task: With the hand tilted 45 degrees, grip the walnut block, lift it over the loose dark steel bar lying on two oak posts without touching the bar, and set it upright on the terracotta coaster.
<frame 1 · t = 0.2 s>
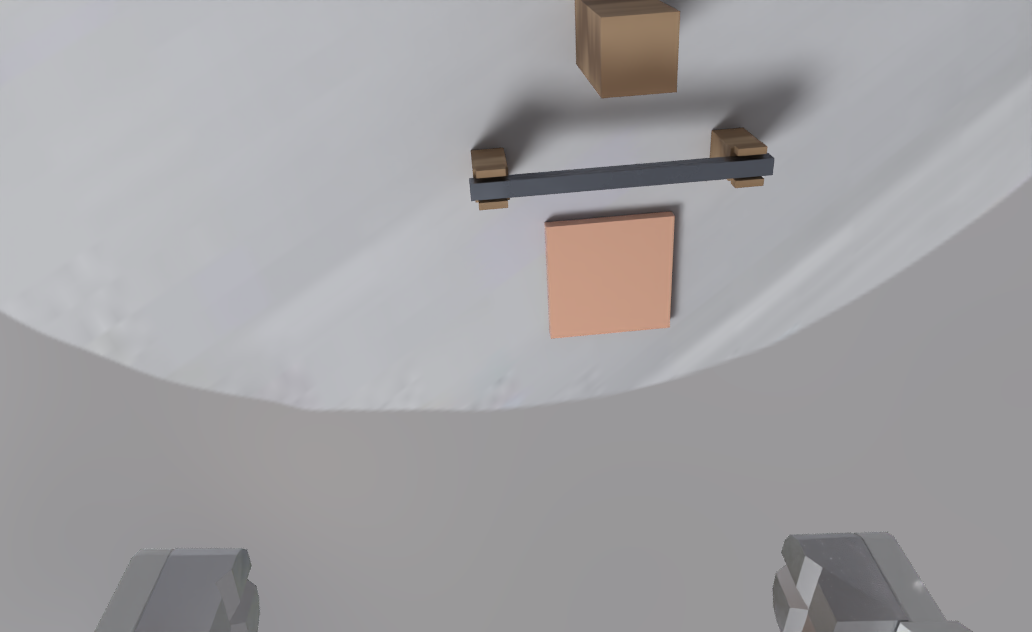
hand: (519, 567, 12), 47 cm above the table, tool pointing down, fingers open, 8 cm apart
metal bar: (619, 173, 53), point 4 cm above the table, touching hurdle posts
walnut block: (607, 28, 53), on the table
hurdle posts: (608, 154, 57), on the table
coaster: (608, 274, 62), on the table
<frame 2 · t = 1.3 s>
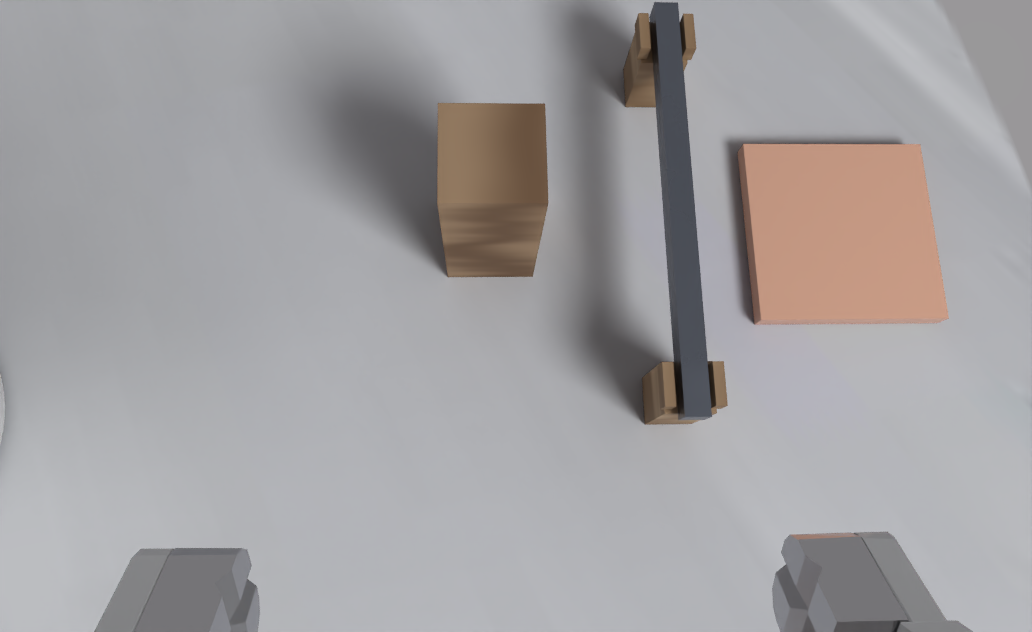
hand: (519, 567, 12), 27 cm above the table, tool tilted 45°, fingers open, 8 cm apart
metal bar: (675, 204, 37), point 4 cm above the table, touching hurdle posts
walnut block: (489, 236, 41), on the table
hurdle posts: (655, 236, 42), on the table
coaster: (835, 235, 42), on the table
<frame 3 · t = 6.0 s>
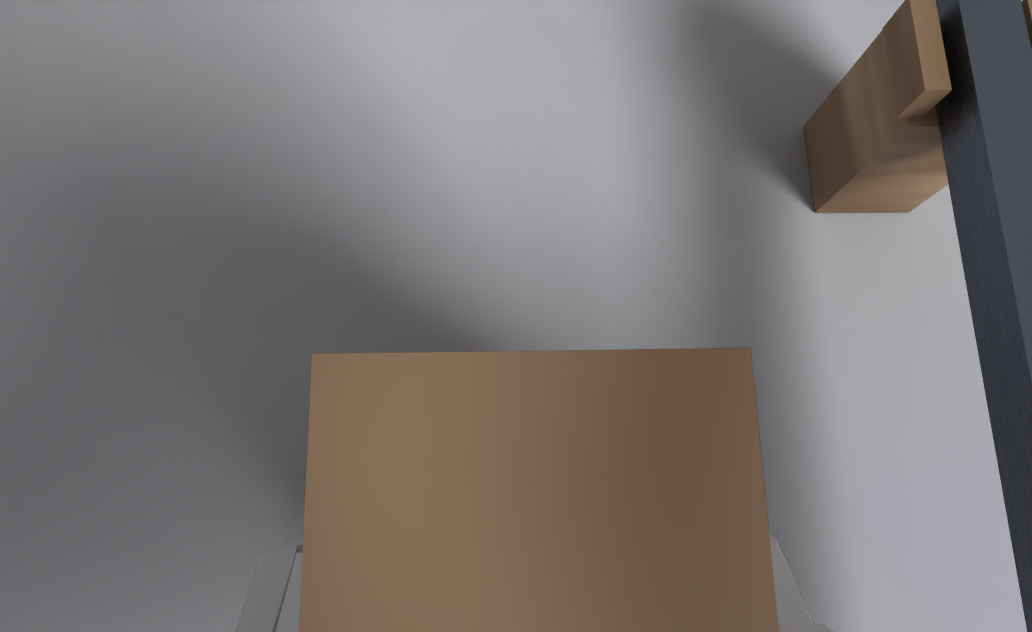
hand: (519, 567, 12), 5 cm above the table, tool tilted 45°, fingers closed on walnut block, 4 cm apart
walnut block: (510, 543, 17), on the table, touching gripper
hurdle posts: (908, 535, 17), on the table
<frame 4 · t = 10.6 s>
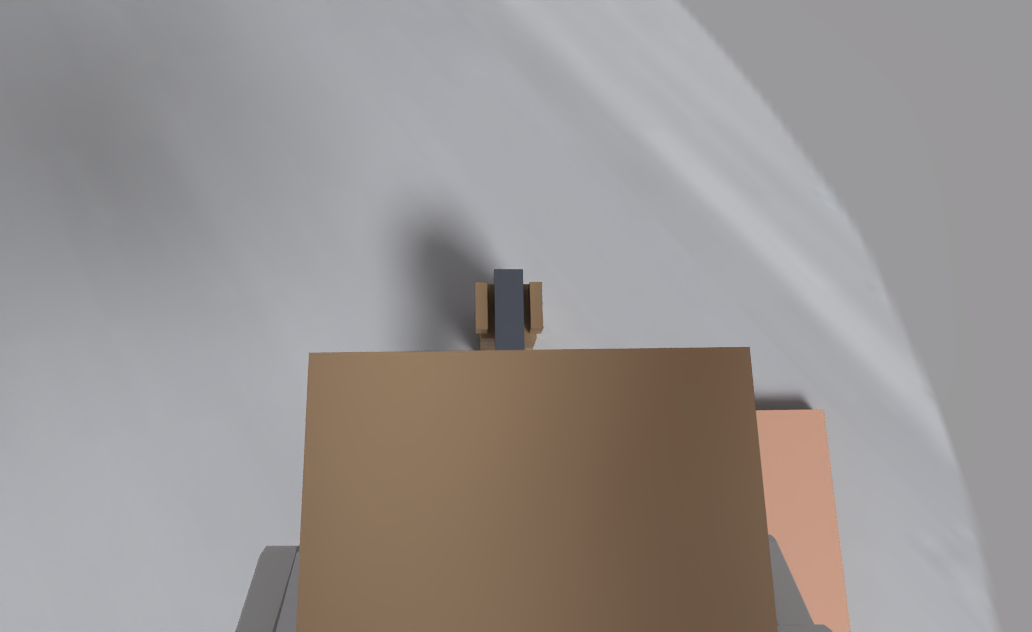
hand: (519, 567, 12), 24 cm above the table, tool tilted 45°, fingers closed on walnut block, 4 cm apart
metal bar: (512, 527, 31), point 4 cm above the table, touching hurdle posts
walnut block: (509, 543, 17), point 19 cm above the table, touching gripper
hurdle posts: (507, 525, 35), on the table
coaster: (722, 521, 36), on the table
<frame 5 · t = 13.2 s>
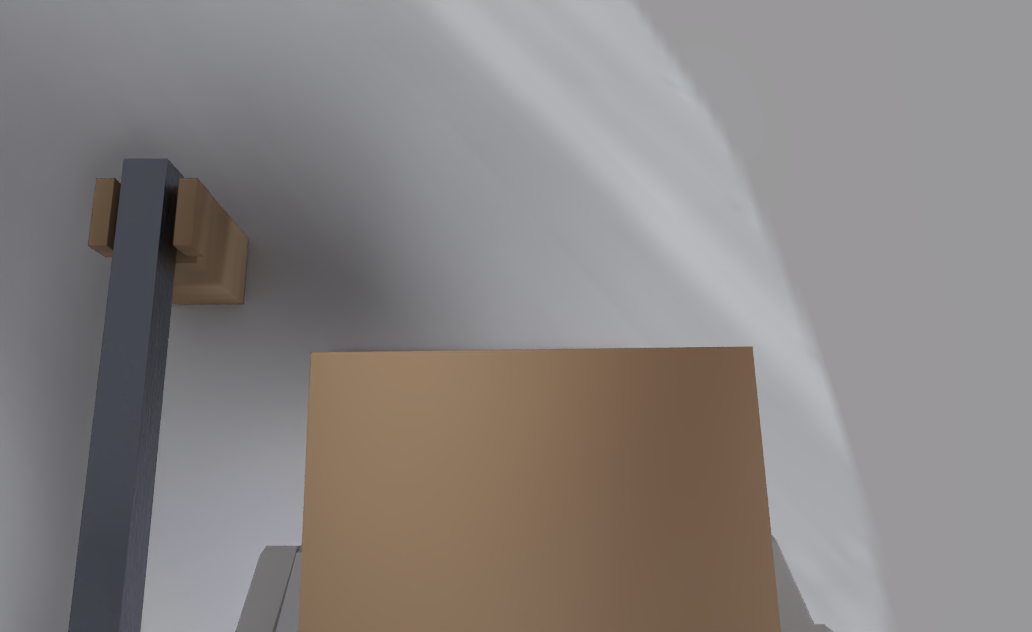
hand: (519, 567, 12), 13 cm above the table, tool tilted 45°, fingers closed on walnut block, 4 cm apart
metal bar: (125, 546, 20), point 4 cm above the table, touching hurdle posts
walnut block: (510, 543, 17), point 8 cm above the table, touching gripper
hurdle posts: (188, 540, 24), on the table
when the fingers open (8 cm above the table, at t = 15.3 s): walnut block drops 1 cm, resting on coaster.
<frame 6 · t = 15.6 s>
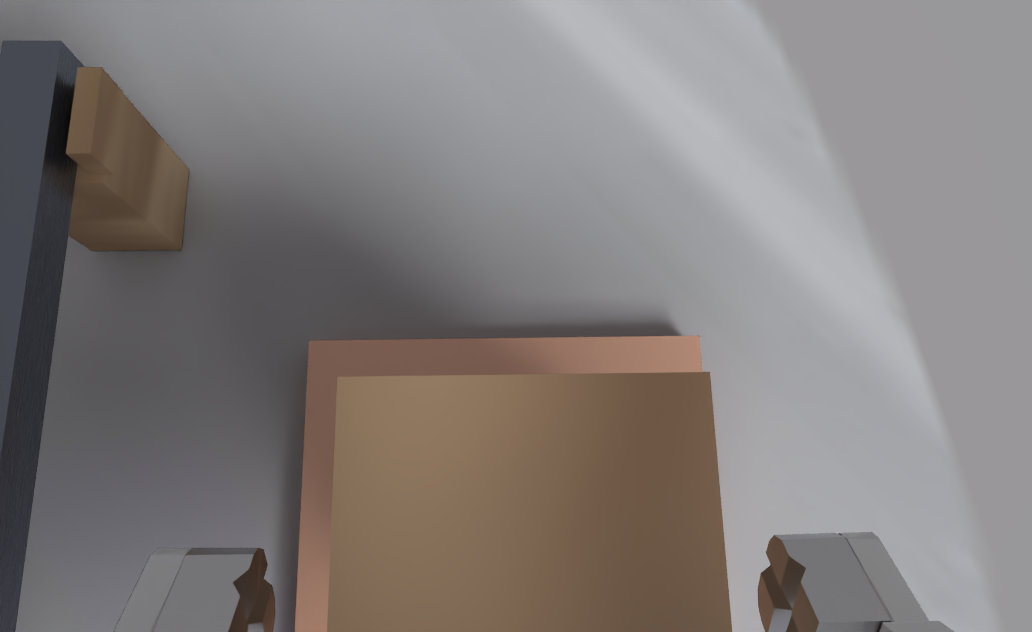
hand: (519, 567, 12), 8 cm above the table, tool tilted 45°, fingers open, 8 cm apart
walnut block: (507, 543, 18), point 1 cm above the table, touching coaster
hurdle posts: (104, 549, 19), on the table
coaster: (508, 540, 19), on the table
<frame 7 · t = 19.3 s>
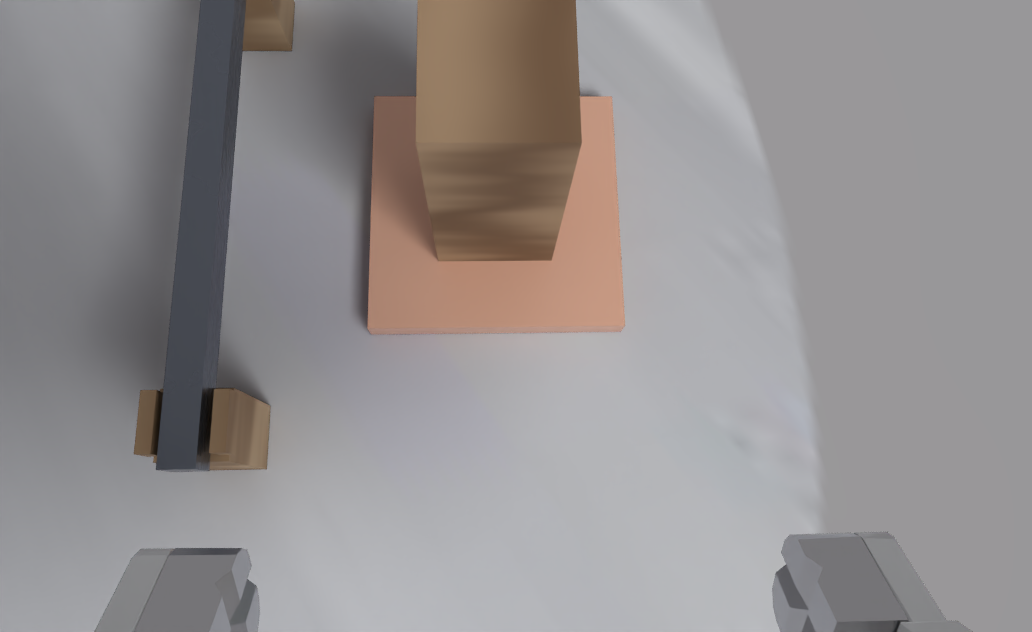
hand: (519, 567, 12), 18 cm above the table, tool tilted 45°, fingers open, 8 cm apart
metal bar: (215, 171, 27), point 4 cm above the table, touching hurdle posts
walnut block: (494, 208, 31), point 1 cm above the table, touching coaster
hurdle posts: (252, 217, 31), on the table
coaster: (495, 216, 32), on the table
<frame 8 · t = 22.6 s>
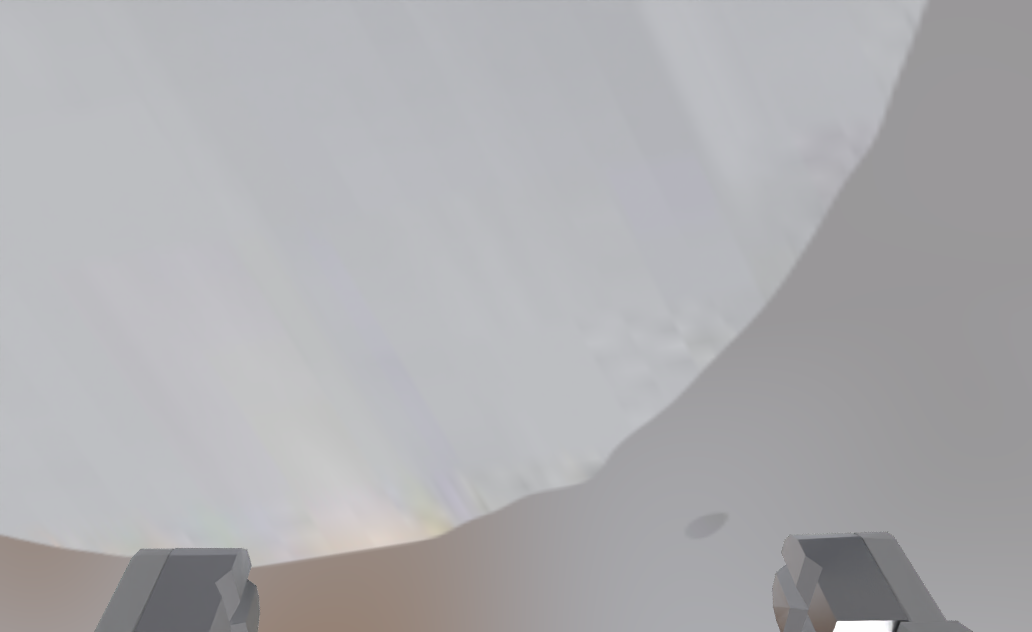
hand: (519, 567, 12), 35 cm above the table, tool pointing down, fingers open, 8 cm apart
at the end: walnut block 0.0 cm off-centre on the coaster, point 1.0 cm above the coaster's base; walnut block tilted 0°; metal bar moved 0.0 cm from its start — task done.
